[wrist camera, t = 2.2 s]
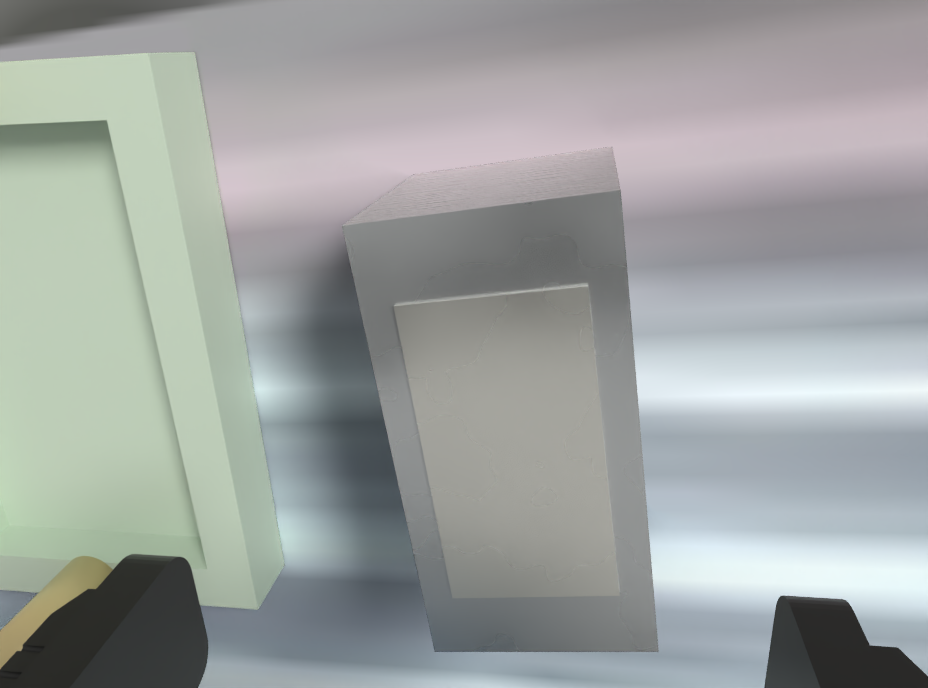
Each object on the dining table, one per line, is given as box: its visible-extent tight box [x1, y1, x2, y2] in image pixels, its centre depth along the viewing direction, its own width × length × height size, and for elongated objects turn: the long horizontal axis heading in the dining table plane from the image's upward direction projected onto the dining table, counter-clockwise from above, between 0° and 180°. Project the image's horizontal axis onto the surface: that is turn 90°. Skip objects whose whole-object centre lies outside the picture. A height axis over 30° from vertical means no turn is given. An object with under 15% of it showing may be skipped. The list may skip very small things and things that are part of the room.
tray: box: [0, 52, 285, 669], centre depth 20 cm, size 11×16×6 cm
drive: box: [342, 147, 658, 652], centre depth 17 cm, size 5×10×6 cm, turn 9°
